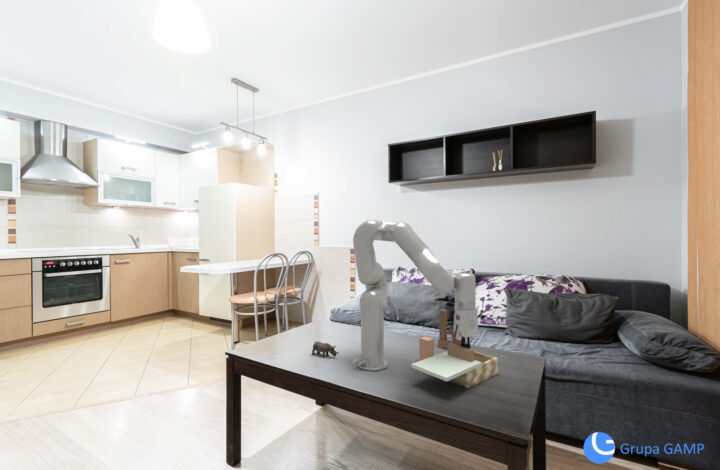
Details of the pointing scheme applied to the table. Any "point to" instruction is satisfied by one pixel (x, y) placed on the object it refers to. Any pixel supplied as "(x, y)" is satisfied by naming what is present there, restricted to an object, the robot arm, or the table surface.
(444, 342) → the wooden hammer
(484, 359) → the tan wooden low box
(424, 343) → the salmon rectangular block
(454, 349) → the lid
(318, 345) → the rhino figurine
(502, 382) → the table surface
